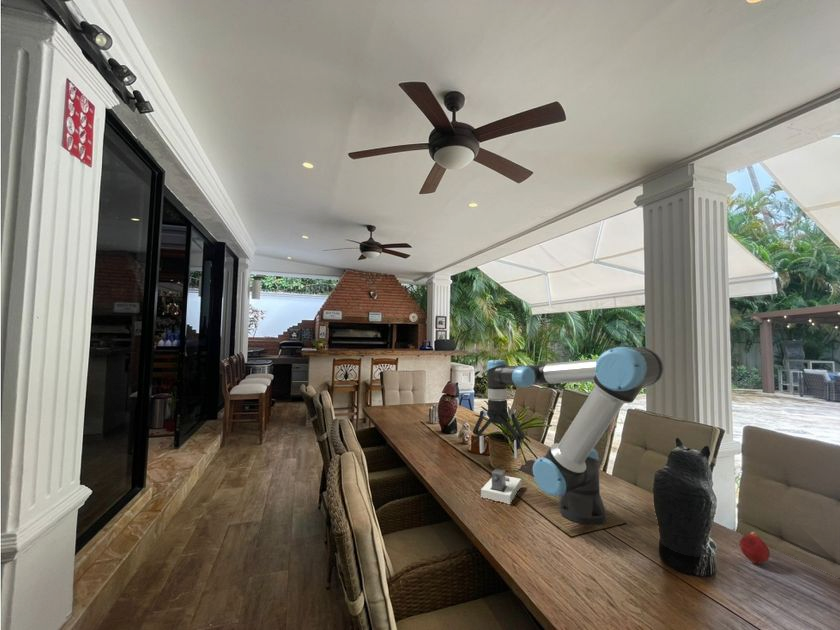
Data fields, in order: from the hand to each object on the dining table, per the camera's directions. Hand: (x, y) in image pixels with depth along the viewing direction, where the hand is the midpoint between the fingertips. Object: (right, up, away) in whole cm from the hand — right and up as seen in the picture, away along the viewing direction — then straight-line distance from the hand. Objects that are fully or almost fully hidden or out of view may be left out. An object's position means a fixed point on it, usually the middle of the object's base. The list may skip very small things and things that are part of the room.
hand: (498, 454), depth 134 cm
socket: (+2, -16, +2) cm, 16 cm away
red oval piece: (+60, -13, -41) cm, 74 cm away
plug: (0, -15, -1) cm, 15 cm away
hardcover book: (+24, -19, +23) cm, 38 cm away
